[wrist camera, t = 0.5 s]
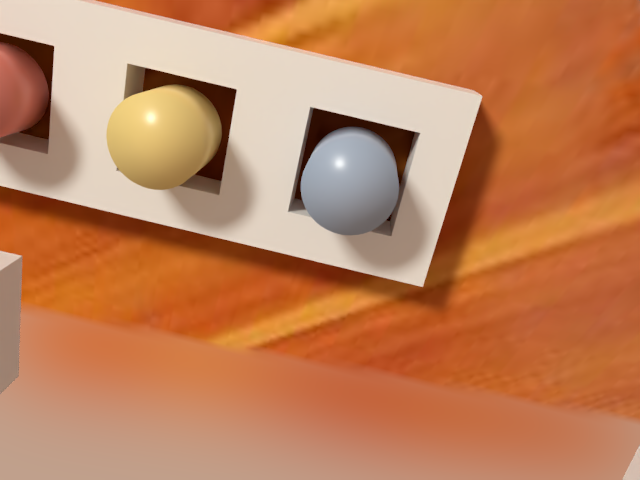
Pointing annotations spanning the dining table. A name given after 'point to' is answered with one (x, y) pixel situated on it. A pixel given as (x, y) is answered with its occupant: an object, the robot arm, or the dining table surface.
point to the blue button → (350, 181)
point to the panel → (234, 133)
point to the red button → (20, 90)
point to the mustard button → (163, 135)
